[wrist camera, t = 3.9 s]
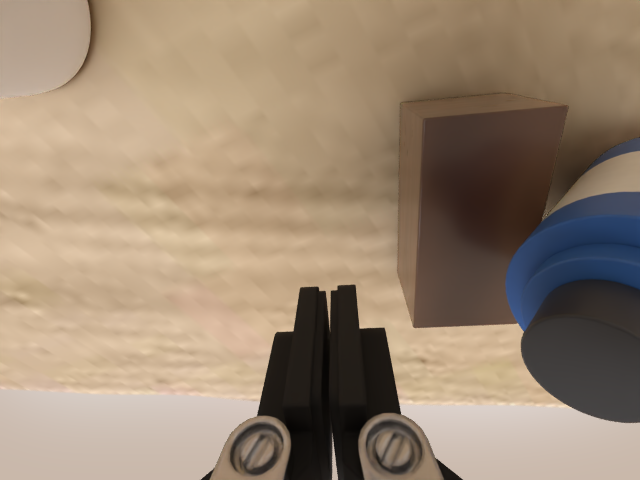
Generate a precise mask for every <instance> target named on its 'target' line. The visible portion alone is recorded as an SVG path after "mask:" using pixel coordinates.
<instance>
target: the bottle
mask: <svg viewBox="0 0 640 480" xmlns="http://www.w3.org/2000/svg"><path fill="white" fill-rule="evenodd" d="M505 285H506V295H507V300H508V303H509V306H510V309H511V311H512V313H513V315H514V317H515V319H516V321H517V322H518V324H519V325H520V327H521V328H522V330H523V331H524V333H523V336H522V339H521V352H522V357H523V360H524V363H525V365H526V367H527V369H528V370H529V372H530V373H531V375H532V376H533V377H534V379H535V380H536V381H537V382H538V383H539V384H540V385H541V386H542V387H543V388H544V389H545V390H546V391H547V392H549V393H550V394H551V395H553V396H554V397H555V398H557V399H558V400H560V401H561V402H563V403H564V404H566V405H568V406H570V407H572V408H574V409H576V410H578V411H580V412H582V413H585V414H588V415H591V416H594V417H597V418H600V419H604V420H609V421H614V422H622V423H638V422H640V137H638V138H635V139H631V140H629V141H626V142H624V143H621V144H619V145H617V146H615V147H613V148H611V149H610V150H608V151H607V152H605V153H603V154H602V155H601V156H600V157H599V158H597V159H596V160H595V161H594V162H593V163H592V164H591V165H590V166H589V168H588V169H587V170H586V171H585V172H584V173H583V174H582V176H581V177H580V178H579V179H578V180H577V181H576V183H575V184H574V185H573V186H572V187H571V188H570V189H569V191H568V192H567V193H566V194H565V195H564V196H563V198H562V199H561V200H560V201H559V202H558V203H557V204H556V206H555V207H554V208H553V209H552V210H551V211H550V213H549V214H548V215H547V216H546V217H545V218H544V219H543V221H542V222H541V223H540V224H539V225H538V226H537V228H536V229H535V230H534V231H533V232H532V233H531V234H530V236H529V237H528V238H527V239H526V240H525V241H524V243H523V244H522V245H521V246H520V247H519V248H518V250H517V251H516V253H515V254H514V255H513V257H512V259H511V261H510V263H509V266H508V269H507V273H506V281H505Z"/></svg>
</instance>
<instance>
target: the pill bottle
mask: <svg viewBox="0 0 640 480" xmlns="http://www.w3.org/2000/svg"><path fill="white" fill-rule="evenodd" d="M90 35H91V21H90V11H89V6H88V1H87V0H0V99H4V98H13V97H22V96H31V95H37V94H41V93H44V92H48V91H51V90H54V89H57V88H59V87H61V86H62V85H64V84H65V83H67V82H68V81H69V80H71V79H72V78H73V77H74V76H75V75H76V73H77V72H78V71H79V69H80V68H81V66H82V64H83V62H84V60H85V58H86V55H87V52H88V48H89V43H90Z"/></svg>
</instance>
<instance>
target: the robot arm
mask: <svg viewBox="0 0 640 480" xmlns="http://www.w3.org/2000/svg"><path fill="white" fill-rule="evenodd" d="M332 433H333V441H334V449H335V457H336V466H337V474H338V480H463V479H461V478H460V477H459V476H458V475H456V474H455V473H454V472H453V471H451V470H450V469H449V468H448V467H446V466H445V465H444V464H442V463H441V462H440V461H439V460H438V459H436V458H435V456H434V454H433V451H432V448H431V446H430V444H429V441H428V439H427V437H426V435H425V434H424V432H423V430H422V429H421V428H420V427H419V426H418V425H417V424H416V423H415V422H414V421H413V420H411V419H409V418H407V417H406V416H404V415H401V411H400V406H399V400H398V395H397V390H396V384H395V379H394V374H393V368H392V363H391V358H390V352H389V347H388V342H387V337H386V332H385V328H364V329H359V318H358V308H357V297H356V286H355V285H339V286H338V290H335V291H331V311H330V328H329V318H328V309H327V299H326V291H319V287H301V288H300V292H299V299H298V305H297V312H296V319H295V325H294V332H277V333H276V334H275V337H274V341H273V345H272V350H271V355H270V359H269V364H268V368H267V373H266V378H265V382H264V387H263V391H262V396H261V400H260V405H259V410H258V414H257V417H254V418H251V419H248V420H246V421H245V422H243V423H242V424H240V425H239V426H238V427H237V428H236V429H235V430H234V431H233V432H232V433H231V434H230V436H229V438H228V439H227V441H226V443H225V445H224V447H223V450H222V452H221V455H220V457H219V459H218V462H217V464H216V466H215V468H214V469H213V470H212V471H210V472H209V473H208V474H207V475H206V476H205V477H203V478H202V479H201V480H332Z"/></svg>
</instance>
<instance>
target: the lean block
mask: <svg viewBox="0 0 640 480" xmlns="http://www.w3.org/2000/svg"><path fill="white" fill-rule="evenodd" d="M567 111H568V105H564V104H559V103H554V102H549V101H544V100H538V99H533V98H528V97H523V96H518V95H513V94H508V93H498V94H488V95H477V96H467V97H456V98H446V99H435V100H425V101H414V102H404V103H401V104H400V144H399V207H398V269H397V273H398V276H399V279H400V283H401V286H402V290H403V293H404V297H405V300H406V304H407V307H408V310H409V314H410V317H411V321H412V324H413V327H414V328H428V327H452V326H476V325H499V324H517V323H518V322H517V321H516V319H515V317H514V315H513V313H512V311H511V309H510V306H509V303H508V300H507V295H506V285H505V281H506V273H507V269H508V266H509V263H510V261H511V259H512V257H513V255H514V254H515V253H516V251H517V250H518V248H519V247H520V246H521V245H522V244H523V243H524V241H525V240H526V239H527V238H528V237H529V236H530V234H531V233H532V232H533V231H534V230H535V229H536V228H537V226H538V225H539V224H540V223H541V221H542V217H543V213H544V209H545V205H546V200H547V196H548V192H549V188H550V183H551V179H552V175H553V171H554V166H555V162H556V158H557V154H558V150H559V145H560V141H561V137H562V133H563V128H564V124H565V120H566V116H567Z"/></svg>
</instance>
